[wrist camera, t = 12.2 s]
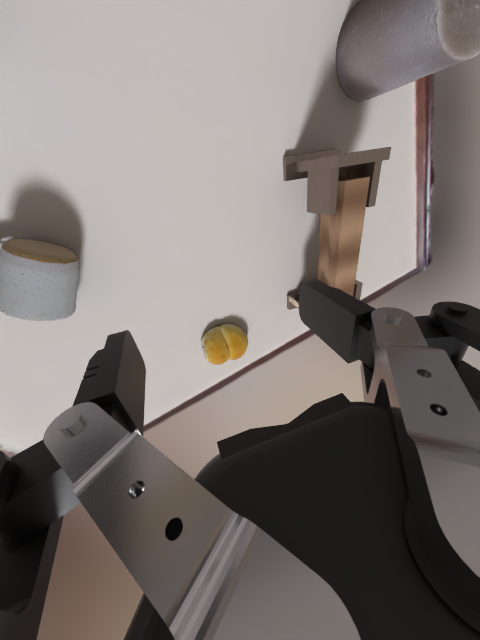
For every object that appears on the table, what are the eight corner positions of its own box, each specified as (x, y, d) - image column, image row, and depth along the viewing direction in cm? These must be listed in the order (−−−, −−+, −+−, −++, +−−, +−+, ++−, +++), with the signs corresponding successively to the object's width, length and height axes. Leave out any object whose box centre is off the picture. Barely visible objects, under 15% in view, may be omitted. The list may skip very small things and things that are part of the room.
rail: (322, 182, 31) (345, 181, 27) (344, 178, 32) (370, 176, 28) (316, 301, 40) (332, 312, 37) (333, 296, 41) (351, 306, 37)
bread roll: (246, 350, 49) (253, 362, 46) (205, 361, 47) (209, 375, 44) (243, 317, 45) (250, 327, 42) (197, 328, 43) (201, 339, 40)
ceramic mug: (87, 249, 32) (68, 264, 25) (82, 302, 35) (64, 328, 28) (-18, 222, 27) (-73, 232, 21) (-13, 286, 30) (-60, 312, 24)
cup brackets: (283, 157, 34) (330, 145, 24) (336, 149, 35) (400, 135, 26) (287, 308, 47) (319, 337, 38) (326, 297, 49) (365, 322, 39)
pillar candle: (379, -31, 27) (563, -211, 15) (407, 57, 32) (562, -24, 20) (321, 51, 29) (440, -48, 17) (356, 121, 34) (467, 85, 22)
